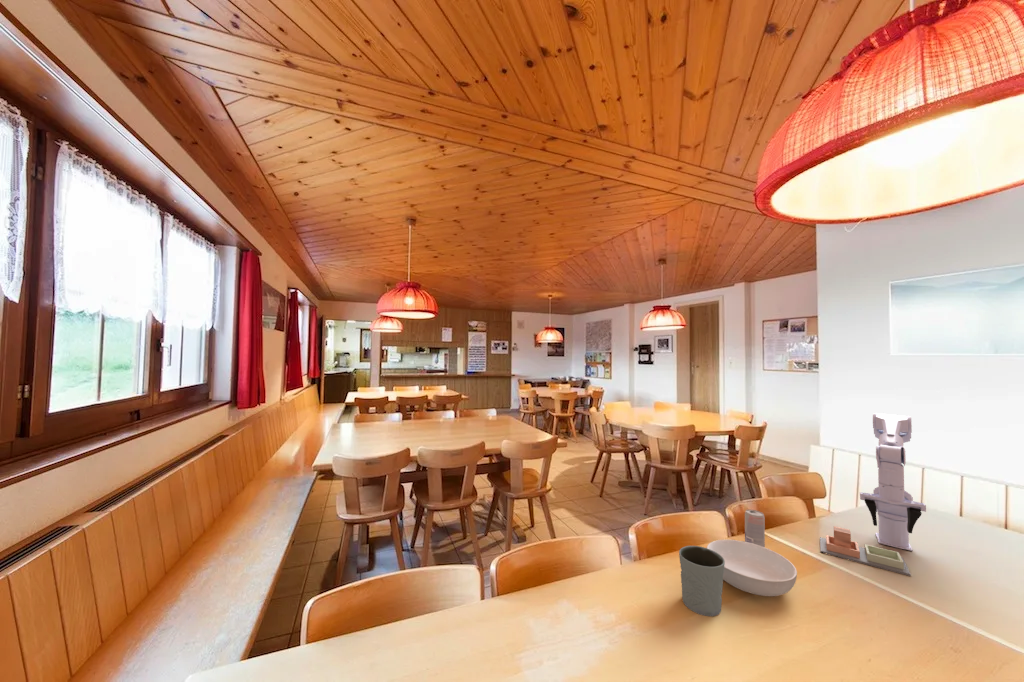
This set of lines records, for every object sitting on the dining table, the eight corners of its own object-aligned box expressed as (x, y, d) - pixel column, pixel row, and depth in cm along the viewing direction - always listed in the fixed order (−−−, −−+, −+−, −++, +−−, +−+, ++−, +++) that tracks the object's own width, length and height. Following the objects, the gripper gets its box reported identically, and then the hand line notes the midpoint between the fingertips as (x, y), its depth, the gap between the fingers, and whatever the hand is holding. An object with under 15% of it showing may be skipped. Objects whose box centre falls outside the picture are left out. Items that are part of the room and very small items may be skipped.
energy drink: (758, 547, 123) (758, 509, 124) (768, 555, 118) (768, 516, 118) (741, 546, 124) (741, 508, 124) (750, 554, 118) (750, 515, 119)
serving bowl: (697, 584, 102) (697, 558, 102) (716, 555, 118) (716, 532, 118) (793, 621, 88) (793, 591, 88) (800, 582, 104) (799, 556, 104)
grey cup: (720, 597, 96) (720, 549, 97) (729, 624, 87) (729, 570, 87) (677, 589, 99) (677, 542, 100) (680, 613, 90) (681, 561, 90)
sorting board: (820, 538, 130) (819, 531, 130) (902, 559, 118) (902, 550, 118) (820, 552, 121) (820, 544, 121) (910, 576, 108) (910, 566, 108)
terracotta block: (834, 544, 125) (833, 526, 125) (850, 548, 122) (849, 529, 122) (834, 549, 122) (834, 530, 122) (851, 553, 119) (850, 534, 119)
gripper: (861, 482, 120) (861, 525, 119) (928, 493, 111) (929, 540, 110) (858, 476, 125) (859, 518, 125) (922, 487, 116) (923, 532, 116)
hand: (892, 528), depth 118 cm, fingers open, 7 cm apart
